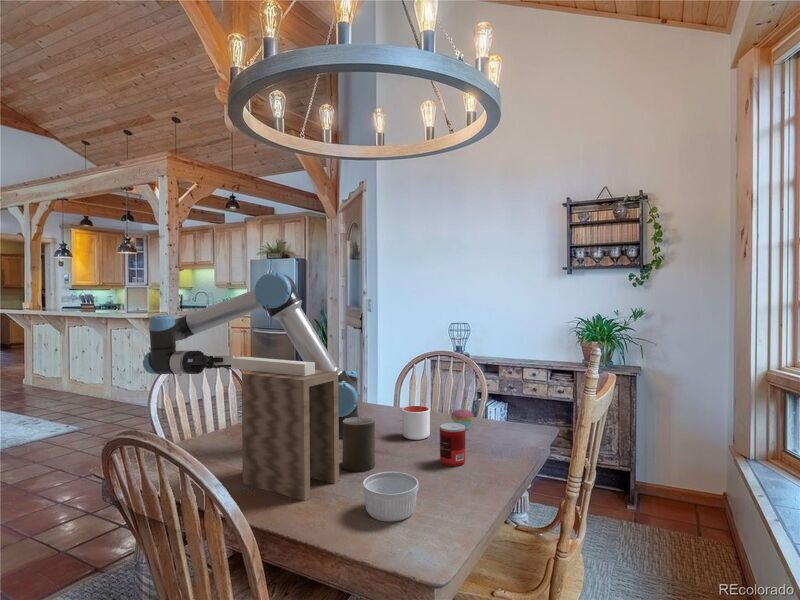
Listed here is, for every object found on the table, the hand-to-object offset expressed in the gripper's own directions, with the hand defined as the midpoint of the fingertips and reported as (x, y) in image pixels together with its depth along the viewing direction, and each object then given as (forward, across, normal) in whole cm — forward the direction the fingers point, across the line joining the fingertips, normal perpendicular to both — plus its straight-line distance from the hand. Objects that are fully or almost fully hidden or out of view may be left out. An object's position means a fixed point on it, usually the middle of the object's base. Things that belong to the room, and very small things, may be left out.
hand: (246, 361), depth 146 cm
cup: (+45, -40, -25) cm, 66 cm away
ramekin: (+52, +16, -37) cm, 66 cm away
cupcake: (+60, -55, -22) cm, 84 cm away
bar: (+16, +12, -4) cm, 20 cm away
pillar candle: (+35, -9, -31) cm, 48 cm away
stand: (+21, +7, -34) cm, 40 cm away
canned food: (+62, -18, -30) cm, 71 cm away
